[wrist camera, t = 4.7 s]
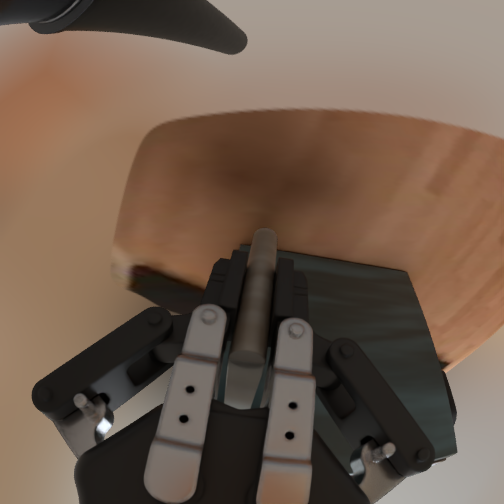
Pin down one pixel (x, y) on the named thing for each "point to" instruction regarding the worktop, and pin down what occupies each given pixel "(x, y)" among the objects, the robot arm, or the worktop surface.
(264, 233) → the door
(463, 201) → the worktop surface
